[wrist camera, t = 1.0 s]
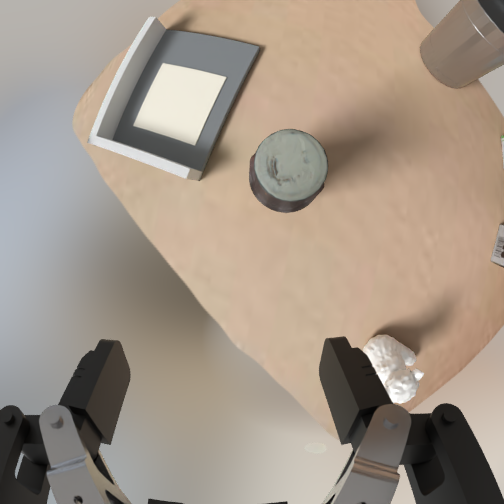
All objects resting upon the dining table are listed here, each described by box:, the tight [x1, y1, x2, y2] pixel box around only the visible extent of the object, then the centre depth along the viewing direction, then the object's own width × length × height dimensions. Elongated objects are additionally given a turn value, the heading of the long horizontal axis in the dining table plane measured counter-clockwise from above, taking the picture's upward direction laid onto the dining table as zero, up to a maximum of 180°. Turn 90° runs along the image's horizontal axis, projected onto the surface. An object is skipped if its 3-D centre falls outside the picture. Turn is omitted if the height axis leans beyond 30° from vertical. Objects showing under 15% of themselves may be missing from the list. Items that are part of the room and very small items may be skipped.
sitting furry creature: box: [363, 335, 424, 404], centre depth 31 cm, size 10×9×12 cm
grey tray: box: [87, 17, 260, 181], centre depth 30 cm, size 20×16×5 cm
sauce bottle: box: [249, 129, 328, 213], centre depth 24 cm, size 6×6×20 cm
